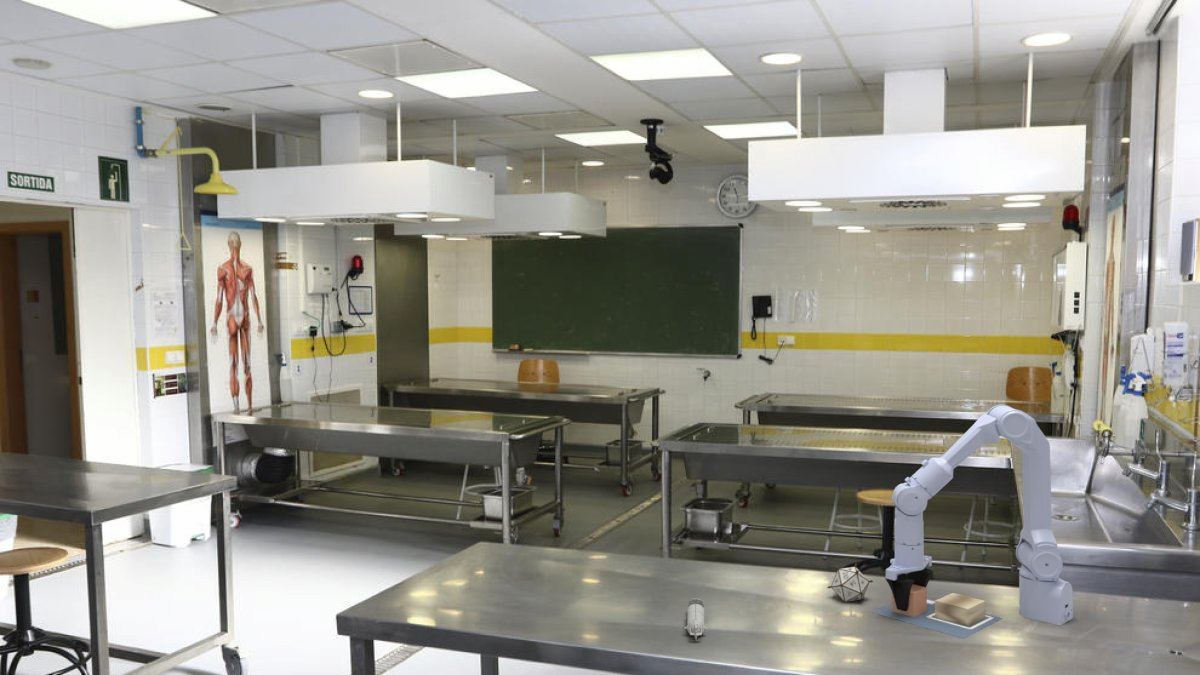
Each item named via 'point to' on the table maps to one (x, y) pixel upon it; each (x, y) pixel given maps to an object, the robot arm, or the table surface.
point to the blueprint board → (939, 621)
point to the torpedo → (695, 618)
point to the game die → (850, 584)
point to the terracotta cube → (914, 602)
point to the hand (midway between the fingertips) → (909, 606)
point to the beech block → (960, 609)
